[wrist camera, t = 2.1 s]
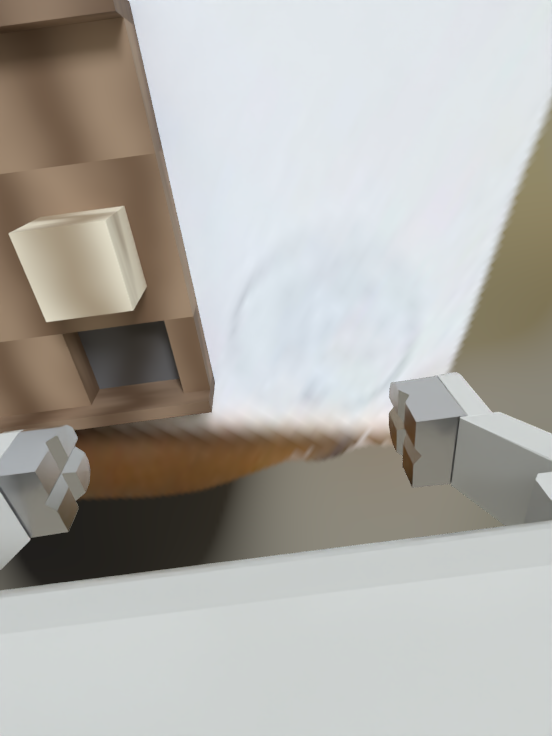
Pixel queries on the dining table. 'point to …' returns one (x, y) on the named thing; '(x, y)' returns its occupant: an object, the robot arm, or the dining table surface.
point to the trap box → (84, 193)
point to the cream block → (81, 263)
